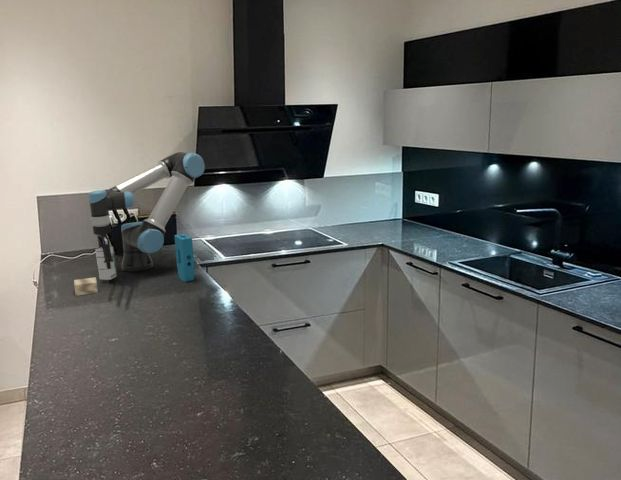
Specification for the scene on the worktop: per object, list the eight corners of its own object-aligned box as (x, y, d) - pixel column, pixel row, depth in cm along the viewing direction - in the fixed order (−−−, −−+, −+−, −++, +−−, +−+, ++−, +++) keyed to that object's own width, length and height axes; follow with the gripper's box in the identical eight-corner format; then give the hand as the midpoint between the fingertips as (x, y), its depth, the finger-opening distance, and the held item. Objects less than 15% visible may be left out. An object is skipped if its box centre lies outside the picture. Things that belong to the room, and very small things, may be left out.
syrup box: (110, 279, 264) (106, 249, 260) (99, 279, 265) (95, 248, 262) (117, 276, 269) (113, 246, 266) (105, 275, 270) (101, 245, 267)
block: (177, 276, 272) (173, 235, 268) (187, 274, 275) (184, 233, 270) (185, 282, 262) (181, 239, 258) (195, 280, 265) (192, 238, 260)
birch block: (96, 287, 259) (95, 277, 258) (97, 293, 251) (96, 282, 250) (75, 290, 256) (74, 280, 255) (75, 296, 248) (74, 285, 246)
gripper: (88, 222, 268) (94, 269, 273) (97, 229, 251) (103, 280, 256) (105, 220, 272) (111, 267, 277) (115, 227, 254) (121, 276, 260)
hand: (107, 273), depth 266 cm, fingers closed on syrup box, 8 cm apart
